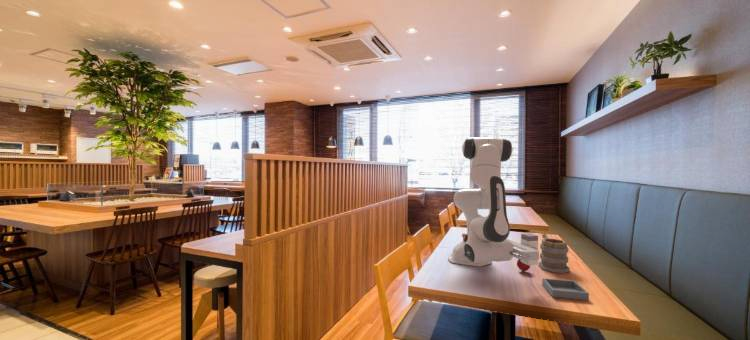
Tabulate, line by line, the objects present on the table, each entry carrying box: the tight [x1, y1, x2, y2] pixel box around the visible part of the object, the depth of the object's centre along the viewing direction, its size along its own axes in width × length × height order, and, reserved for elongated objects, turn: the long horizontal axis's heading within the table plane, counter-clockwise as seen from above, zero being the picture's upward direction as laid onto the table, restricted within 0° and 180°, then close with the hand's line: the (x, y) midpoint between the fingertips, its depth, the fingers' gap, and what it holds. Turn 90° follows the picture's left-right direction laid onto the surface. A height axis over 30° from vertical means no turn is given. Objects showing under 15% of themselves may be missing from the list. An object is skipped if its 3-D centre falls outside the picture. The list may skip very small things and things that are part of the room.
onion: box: [516, 258, 531, 273], centre depth 148 cm, size 6×6×8 cm
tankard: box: [537, 233, 571, 274], centre depth 156 cm, size 20×13×15 cm, turn 168°
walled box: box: [541, 277, 590, 302], centre depth 124 cm, size 13×13×3 cm
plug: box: [520, 233, 539, 266], centre depth 128 cm, size 4×4×12 cm
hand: (531, 247), depth 128 cm, fingers closed on plug, 4 cm apart
